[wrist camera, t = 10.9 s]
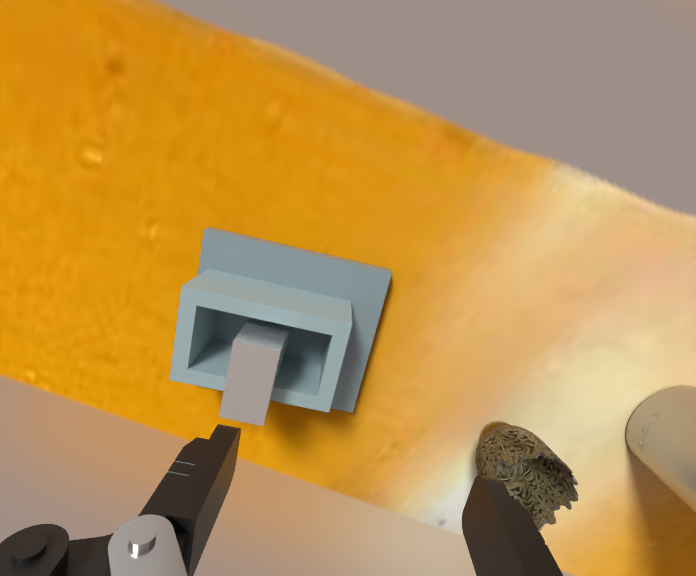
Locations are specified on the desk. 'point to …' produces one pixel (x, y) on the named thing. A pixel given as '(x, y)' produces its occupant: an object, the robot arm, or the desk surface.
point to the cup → (526, 470)
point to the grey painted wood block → (253, 370)
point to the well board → (280, 317)
